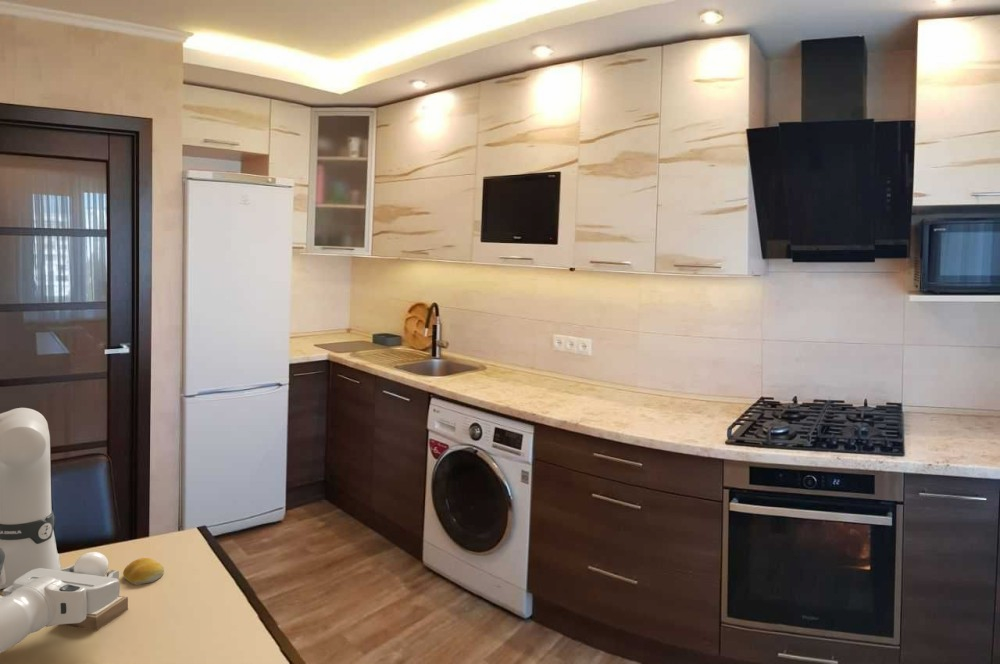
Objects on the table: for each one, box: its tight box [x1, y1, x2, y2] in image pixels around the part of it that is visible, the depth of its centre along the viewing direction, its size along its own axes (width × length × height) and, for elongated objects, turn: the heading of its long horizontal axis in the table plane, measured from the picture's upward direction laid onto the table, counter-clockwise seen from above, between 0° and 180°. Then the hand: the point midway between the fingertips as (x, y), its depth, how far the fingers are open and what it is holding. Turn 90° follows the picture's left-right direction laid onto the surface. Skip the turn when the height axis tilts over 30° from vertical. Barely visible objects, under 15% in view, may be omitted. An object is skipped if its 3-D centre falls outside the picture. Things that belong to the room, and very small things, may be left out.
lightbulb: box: [73, 551, 109, 577], centre depth 145 cm, size 6×6×11 cm
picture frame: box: [59, 595, 129, 631], centre depth 146 cm, size 9×9×3 cm
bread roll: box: [122, 557, 165, 585], centre depth 165 cm, size 8×9×4 cm
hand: (96, 570), depth 146 cm, fingers open, 8 cm apart
